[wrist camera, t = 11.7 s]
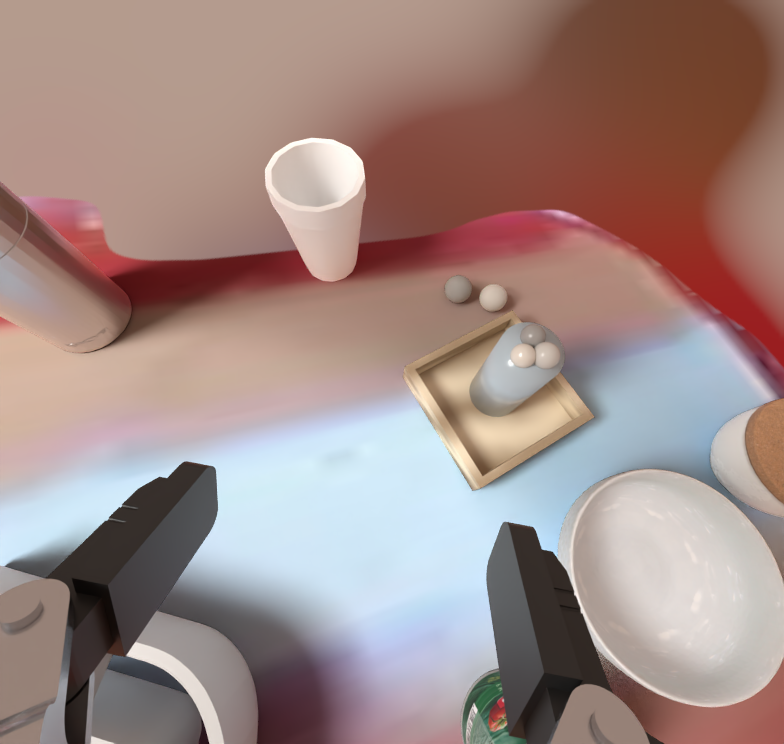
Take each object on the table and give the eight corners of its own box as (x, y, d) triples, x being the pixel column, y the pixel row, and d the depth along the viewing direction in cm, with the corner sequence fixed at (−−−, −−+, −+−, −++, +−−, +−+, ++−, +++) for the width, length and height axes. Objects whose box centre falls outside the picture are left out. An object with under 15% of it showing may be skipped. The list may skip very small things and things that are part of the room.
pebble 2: (471, 300, 46) (477, 285, 43) (492, 289, 47) (500, 274, 44) (486, 320, 45) (493, 306, 42) (507, 309, 46) (516, 295, 43)
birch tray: (402, 377, 42) (404, 366, 39) (503, 324, 45) (512, 310, 42) (472, 490, 38) (480, 488, 35) (578, 424, 41) (594, 416, 38)
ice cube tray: (4, 558, 35) (-107, 570, 27) (293, 641, 33) (265, 680, 25) (-126, 791, 29) (-319, 895, 21) (217, 906, 28) (150, 1067, 19)
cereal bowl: (695, 483, 39) (759, 476, 33) (735, 679, 33) (823, 719, 27) (532, 469, 39) (563, 459, 33) (543, 663, 33) (583, 698, 27)
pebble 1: (437, 292, 47) (441, 276, 44) (459, 281, 47) (464, 265, 44) (451, 312, 46) (456, 297, 43) (473, 301, 46) (480, 286, 43)
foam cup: (292, 234, 49) (264, 141, 37) (363, 227, 50) (358, 134, 38) (296, 296, 46) (266, 216, 34) (372, 288, 47) (369, 207, 34)
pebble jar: (460, 382, 42) (492, 328, 30) (501, 362, 43) (548, 302, 31) (485, 425, 40) (530, 386, 28) (528, 403, 41) (588, 357, 29)
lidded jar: (747, 544, 37) (860, 551, 29) (666, 451, 40) (745, 432, 32) (813, 483, 40) (936, 473, 31) (731, 400, 43) (822, 369, 34)
